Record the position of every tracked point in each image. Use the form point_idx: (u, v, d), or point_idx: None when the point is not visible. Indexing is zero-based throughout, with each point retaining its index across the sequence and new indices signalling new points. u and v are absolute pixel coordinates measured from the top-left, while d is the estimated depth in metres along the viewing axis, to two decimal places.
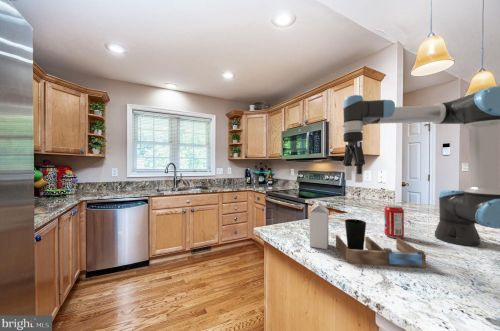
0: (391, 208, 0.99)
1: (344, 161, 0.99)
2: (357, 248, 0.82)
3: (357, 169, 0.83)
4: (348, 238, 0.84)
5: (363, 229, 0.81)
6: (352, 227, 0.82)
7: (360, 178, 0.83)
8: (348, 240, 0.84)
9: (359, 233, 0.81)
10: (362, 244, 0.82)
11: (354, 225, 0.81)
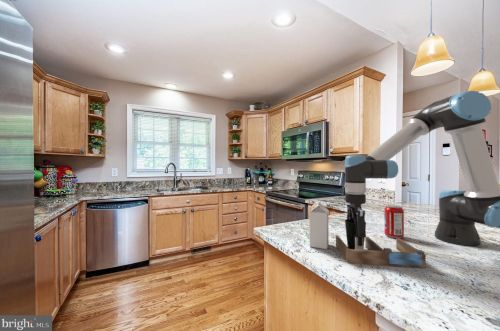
0: (391, 208, 0.99)
1: None
2: None
3: (358, 240, 0.80)
4: (348, 238, 0.84)
5: None
6: (352, 227, 0.82)
7: (361, 249, 0.80)
8: (348, 240, 0.84)
9: None
10: None
11: (354, 225, 0.81)
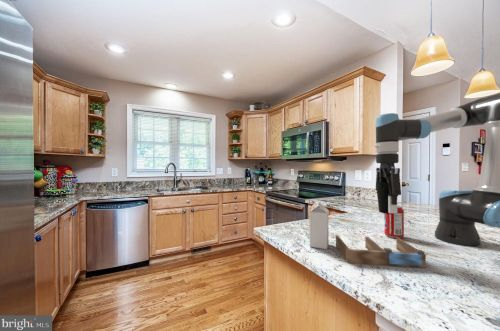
0: None
1: None
2: None
3: (391, 199, 0.78)
4: (380, 199, 0.82)
5: None
6: (384, 187, 0.80)
7: (395, 209, 0.78)
8: (380, 201, 0.82)
9: None
10: None
11: (387, 184, 0.80)
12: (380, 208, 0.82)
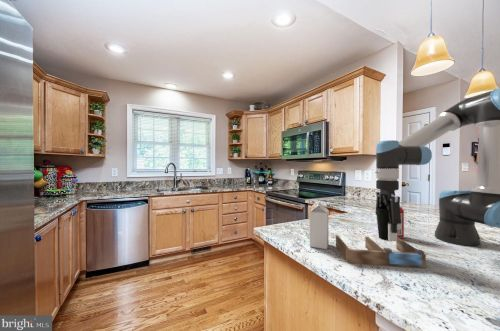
0: None
1: None
2: None
3: (391, 227, 0.78)
4: (380, 225, 0.82)
5: None
6: (384, 214, 0.80)
7: (394, 236, 0.78)
8: (380, 227, 0.82)
9: None
10: None
11: (387, 212, 0.80)
12: (380, 234, 0.82)
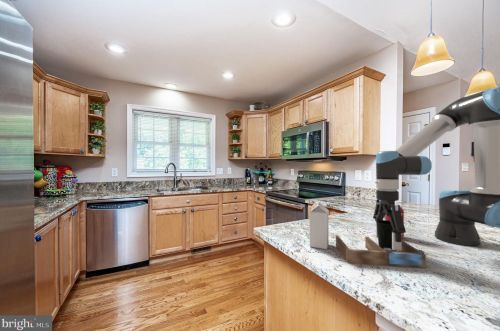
0: None
1: (374, 216, 0.91)
2: None
3: (395, 236, 0.75)
4: (380, 240, 0.82)
5: None
6: (385, 228, 0.80)
7: (399, 246, 0.76)
8: (380, 242, 0.82)
9: None
10: None
11: (387, 226, 0.79)
12: None
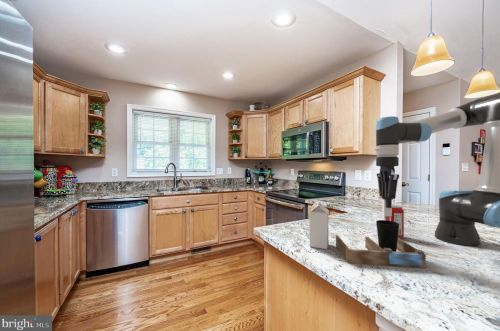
0: None
1: (380, 191, 0.86)
2: None
3: (386, 203, 0.82)
4: (380, 240, 0.82)
5: (397, 230, 0.79)
6: (385, 228, 0.80)
7: (389, 212, 0.82)
8: (380, 242, 0.82)
9: (393, 234, 0.79)
10: (395, 246, 0.80)
11: (387, 226, 0.79)
12: None
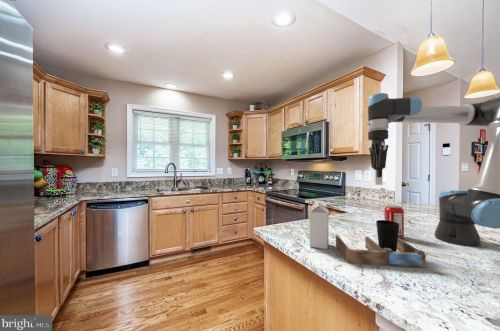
0: (391, 208, 0.99)
1: (372, 163, 0.93)
2: None
3: (377, 172, 0.89)
4: (380, 240, 0.82)
5: (397, 230, 0.79)
6: (385, 228, 0.80)
7: (380, 181, 0.90)
8: (380, 242, 0.82)
9: (393, 234, 0.79)
10: (395, 246, 0.80)
11: (387, 226, 0.79)
12: None
